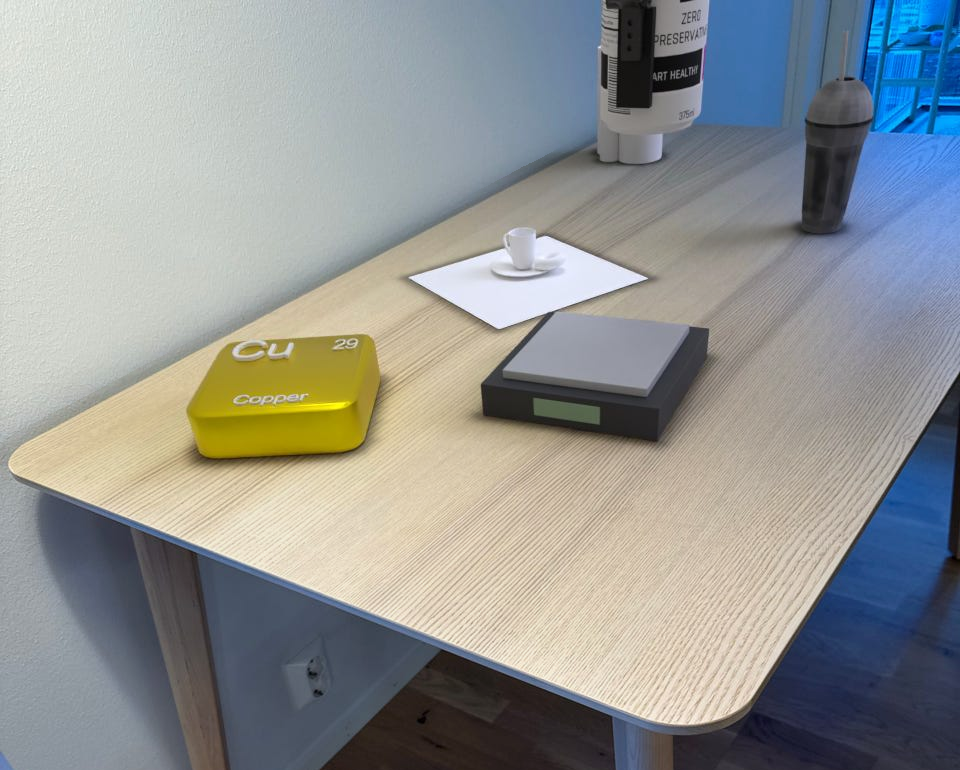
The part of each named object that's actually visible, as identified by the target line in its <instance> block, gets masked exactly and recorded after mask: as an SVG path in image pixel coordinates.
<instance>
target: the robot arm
mask: <svg viewBox="0 0 960 770" xmlns="http://www.w3.org/2000/svg"><path fill="white" fill-rule="evenodd" d="M651 2H652V0H606V8H607V9H618V45H617V89H616V108H650V107H651V106H652V92H653V70H654V49H655V27H656V7H650V6H651Z"/></svg>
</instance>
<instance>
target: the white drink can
mask: <svg viewBox="0 0 960 770" xmlns="http://www.w3.org/2000/svg"><path fill="white" fill-rule="evenodd" d="M650 7H656V27H655V49H654V70H653V92H652V106H651V107H650V108H616V89H617V45H618V9H607V8H606V0H601V37H600V38H601V39H600V46H601V119H602V120H603V121H604V122H605V123H606V124H607V126H608V128H609V129H610V130H612V131H615V132H617V133H623V134H629V135H656V134H663V135H664V134H670V133H674V132H678V131H681V130H686V128H688V127H690V126H692V124H693V122H694V120H696V119H697V118H698V117H699V116H700V114H701V112H702V102H703V90H704V89H703V88H704V77H705V76H704V75H705V62H706V49H707V39H708V38H707V37H708V24H709V13H710V12H709V9H710V0H652V2H651V6H650Z"/></svg>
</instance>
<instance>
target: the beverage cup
mask: <svg viewBox="0 0 960 770" xmlns="http://www.w3.org/2000/svg"><path fill="white" fill-rule="evenodd" d="M848 41H849V30H843V32H842V42H841V52H840V53H841V54H840V63H839V73H838V74H839V75H838V77H834V78H833V79H831V80H829V81H828V82H826V83H825V84H823V85H822V86H821V87H820V88H819V89H818V90H817V92H816V93H815V94H814V96H813V98H811V100H810V103H809V106H808V109H807V112H806V116H805V117H804V123H805V126H804V133H805V134H804V137H805V138H804V139H805V154H804V171H803V185H802V187H803V188H802V199H801V200H802V203H801V226H800V227H801V229H802V230H803V231H804V232H807V233H810V234H811V233H812V234H831V233H836V232H838V231H839V230H841V228H842V224H843V221H844V217H845V214H846V212H847V208H848V204H849V200H850V196H851V193H852V189H853V185H854V181H855V178H856V174H857V170H858V166H859V162H860V159H861V155H862V151H863V147H864V144H865V141H866V140H867V137H868V134H869V132H870V129H871V124H872V123H873V121H874V102H873V97H872V93H871V91H870V89H869V88H868V86H867V85H866V83H864V82H863V81H862V80H860V79H859V78H857V77H854V76H845V72H846V64H847V63H846V60H847V51H848Z"/></svg>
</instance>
